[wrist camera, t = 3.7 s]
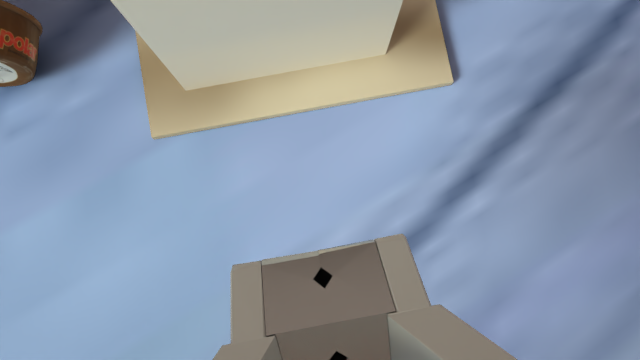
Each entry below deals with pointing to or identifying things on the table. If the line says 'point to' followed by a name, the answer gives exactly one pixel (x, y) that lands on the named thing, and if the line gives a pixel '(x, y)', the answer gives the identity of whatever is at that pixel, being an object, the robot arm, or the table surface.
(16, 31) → the tin
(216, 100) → the board
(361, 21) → the tile
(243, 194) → the table surface
